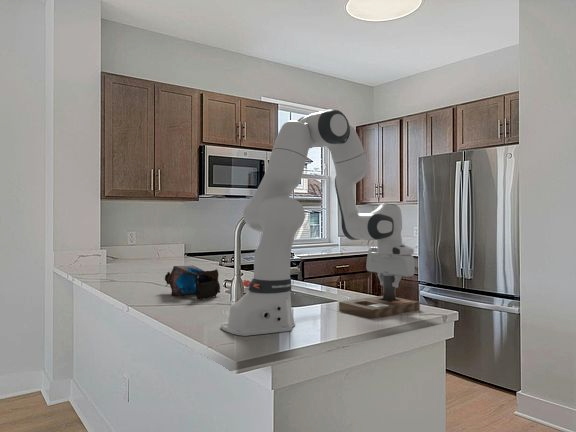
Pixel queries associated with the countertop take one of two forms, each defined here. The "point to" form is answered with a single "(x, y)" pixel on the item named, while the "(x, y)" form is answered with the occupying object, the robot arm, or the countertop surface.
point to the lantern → (193, 282)
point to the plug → (388, 286)
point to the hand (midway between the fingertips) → (389, 286)
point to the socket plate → (378, 307)
